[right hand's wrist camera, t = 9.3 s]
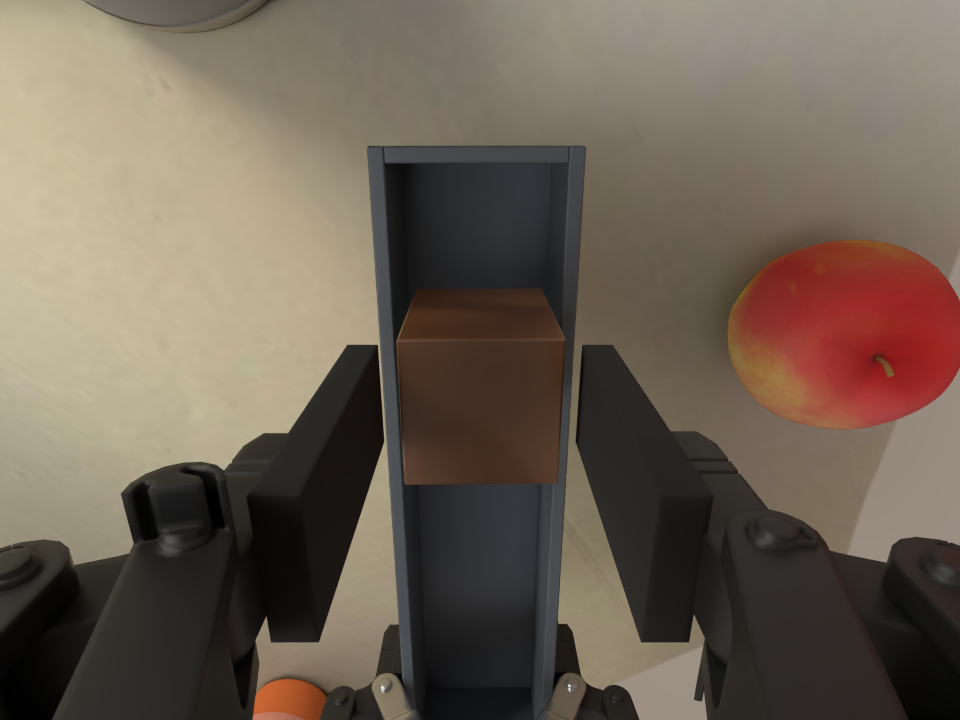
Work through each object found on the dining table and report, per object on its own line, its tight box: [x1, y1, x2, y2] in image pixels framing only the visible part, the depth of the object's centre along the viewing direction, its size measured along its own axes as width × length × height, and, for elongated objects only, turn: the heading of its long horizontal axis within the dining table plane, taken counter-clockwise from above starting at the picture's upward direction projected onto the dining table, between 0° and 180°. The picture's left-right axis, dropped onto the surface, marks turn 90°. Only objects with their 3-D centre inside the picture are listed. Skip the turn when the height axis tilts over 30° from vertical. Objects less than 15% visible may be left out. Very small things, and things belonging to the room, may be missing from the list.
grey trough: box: [367, 146, 586, 720], centre depth 24 cm, size 7×28×5 cm, turn 0°
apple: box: [728, 240, 960, 430], centre depth 29 cm, size 10×10×10 cm
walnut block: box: [396, 288, 566, 485], centre depth 16 cm, size 4×4×5 cm
